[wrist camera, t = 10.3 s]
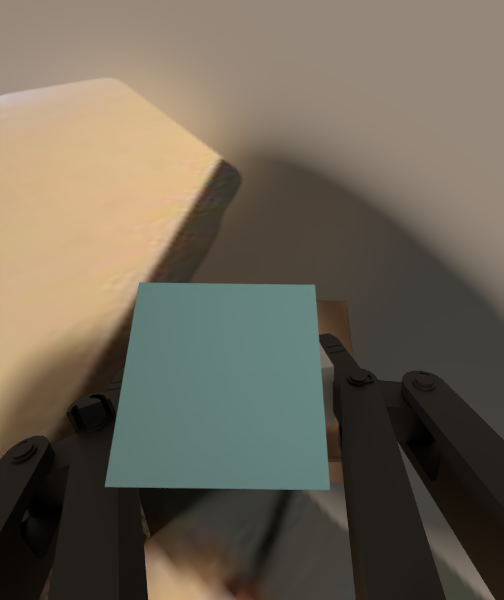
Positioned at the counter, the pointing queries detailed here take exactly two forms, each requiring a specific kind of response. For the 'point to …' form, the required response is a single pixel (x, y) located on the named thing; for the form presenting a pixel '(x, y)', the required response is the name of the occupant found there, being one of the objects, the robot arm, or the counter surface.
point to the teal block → (222, 390)
